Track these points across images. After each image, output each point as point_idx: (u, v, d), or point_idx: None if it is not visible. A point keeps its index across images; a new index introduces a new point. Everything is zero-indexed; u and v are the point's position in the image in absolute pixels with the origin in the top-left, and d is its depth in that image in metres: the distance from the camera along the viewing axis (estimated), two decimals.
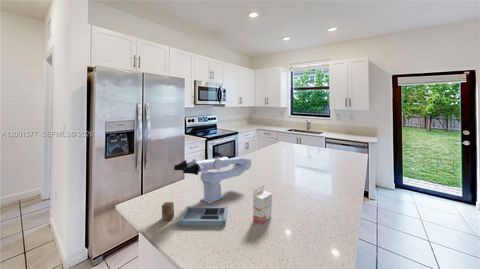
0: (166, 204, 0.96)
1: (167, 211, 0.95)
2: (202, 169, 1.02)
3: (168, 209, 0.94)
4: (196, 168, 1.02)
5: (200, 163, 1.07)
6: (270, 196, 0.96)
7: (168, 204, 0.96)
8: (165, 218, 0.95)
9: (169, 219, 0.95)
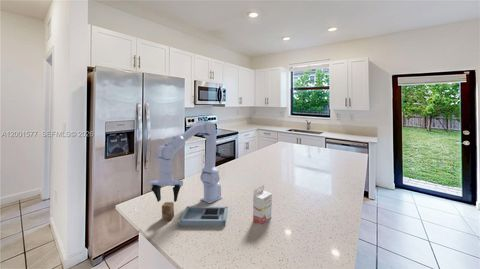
0: (166, 204, 0.96)
1: (167, 211, 0.95)
2: (182, 183, 0.95)
3: (168, 209, 0.94)
4: None
5: (169, 178, 0.93)
6: (270, 196, 0.96)
7: (168, 204, 0.96)
8: (165, 218, 0.95)
9: (169, 219, 0.95)
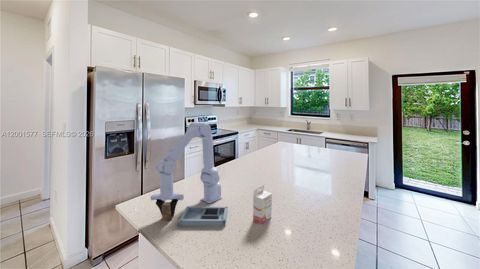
0: (166, 204, 0.96)
1: (167, 211, 0.95)
2: (182, 197, 0.96)
3: (168, 209, 0.94)
4: None
5: (170, 193, 0.94)
6: (270, 196, 0.96)
7: (168, 204, 0.96)
8: (165, 218, 0.95)
9: (169, 219, 0.95)
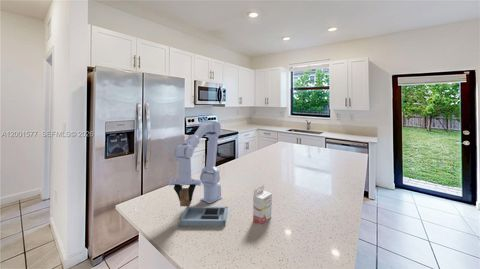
0: (184, 189, 0.95)
1: (185, 196, 0.94)
2: (200, 182, 0.95)
3: (186, 195, 0.93)
4: None
5: (188, 178, 0.93)
6: (270, 196, 0.96)
7: (186, 190, 0.95)
8: (183, 204, 0.94)
9: (187, 205, 0.94)
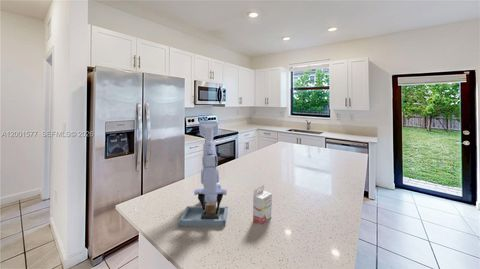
0: (209, 203, 0.96)
1: (211, 210, 0.94)
2: (226, 192, 0.95)
3: (212, 208, 0.94)
4: None
5: (214, 187, 0.93)
6: (270, 196, 0.96)
7: (211, 203, 0.95)
8: None
9: None
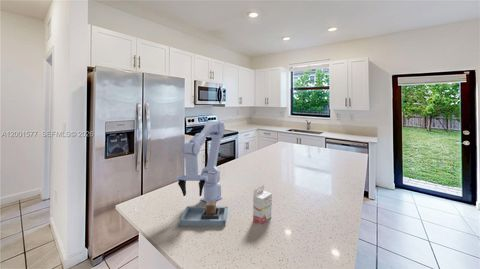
0: (209, 203, 0.96)
1: (211, 210, 0.94)
2: (207, 178, 0.99)
3: (212, 208, 0.94)
4: None
5: (195, 173, 0.97)
6: (270, 196, 0.96)
7: (211, 203, 0.95)
8: None
9: None
